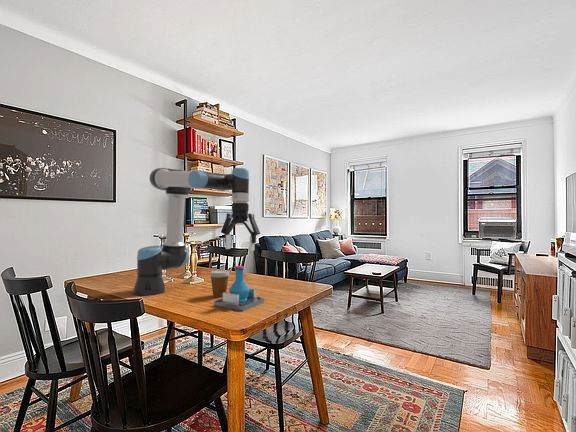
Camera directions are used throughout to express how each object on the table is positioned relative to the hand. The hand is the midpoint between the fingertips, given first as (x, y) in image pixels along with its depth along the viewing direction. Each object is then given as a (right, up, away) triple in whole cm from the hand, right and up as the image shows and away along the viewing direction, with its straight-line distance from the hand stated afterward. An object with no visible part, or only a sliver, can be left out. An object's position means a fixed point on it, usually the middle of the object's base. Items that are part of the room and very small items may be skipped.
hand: (239, 249), depth 146 cm
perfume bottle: (0, -23, 0) cm, 23 cm away
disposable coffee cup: (-12, -25, +15) cm, 31 cm away
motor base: (0, -25, 0) cm, 25 cm away
